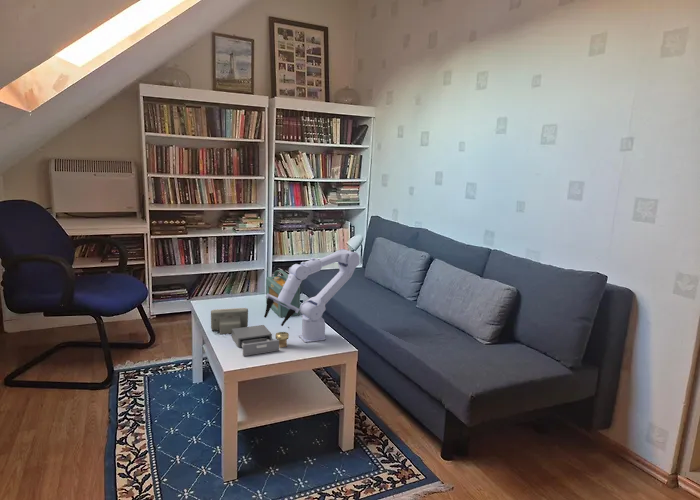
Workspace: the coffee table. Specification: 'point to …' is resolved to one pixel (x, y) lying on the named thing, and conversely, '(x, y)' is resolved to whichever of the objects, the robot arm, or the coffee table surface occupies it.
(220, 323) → the digital clock
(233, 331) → the player housing
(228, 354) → the coffee table surface
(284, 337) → the disc
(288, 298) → the robot arm
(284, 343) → the tan wooden block
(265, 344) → the grey drawer
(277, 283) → the radio
